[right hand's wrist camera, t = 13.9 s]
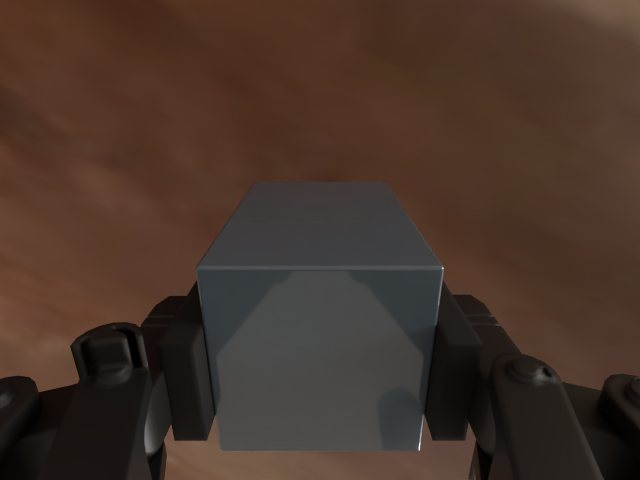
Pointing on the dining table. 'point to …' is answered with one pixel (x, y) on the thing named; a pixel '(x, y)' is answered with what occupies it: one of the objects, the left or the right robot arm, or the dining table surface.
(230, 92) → the dining table surface
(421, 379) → the block
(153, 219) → the dining table surface
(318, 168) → the dining table surface
